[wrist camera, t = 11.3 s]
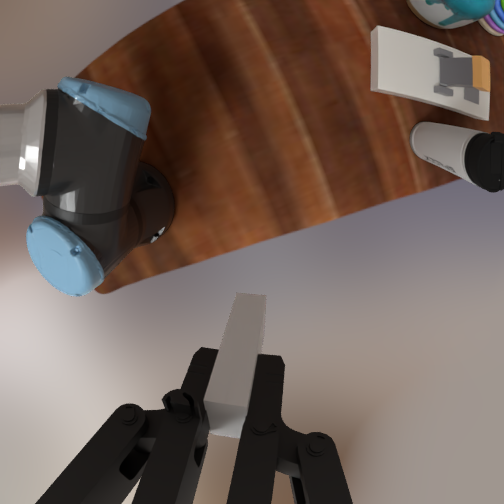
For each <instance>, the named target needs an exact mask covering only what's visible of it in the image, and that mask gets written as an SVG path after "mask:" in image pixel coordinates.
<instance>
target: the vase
mask: <svg viewBox="0 0 504 504" xmlns="http://www.w3.org/2000/svg"><path fill="white" fill-rule="evenodd" d="M406 2H407V4H408V6H409V8H410V9H411V11H412V12H413V13H414V14H415V15H416V16H417V17H418V18H419V19H420V20H422V21H423V22H424V23H426V24H428V25H430V26H432V27H435V28H439V29H452V28H457V27H461V26H464V25H467V24H470V23H472V22H475V21H477V20H479V19H482V18H483V17H485V16H486V15H488V14H489V13H490V12H491V11H492V10H493V8H494V5H495V0H406Z"/></svg>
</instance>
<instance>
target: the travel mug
mask: <svg viewBox="0 0 504 504" xmlns="http://www.w3.org/2000/svg"><path fill="white" fill-rule="evenodd" d="M410 146H411V148H412V150H413V152H414V153H415V154H416V155H417V156H418V157H419V158H421V159H423V160H426V161H428V162H430V163H432V164H434V165H437V166H439V167H441V168H443V169H445V170H447V171H449V172H451V173H453V174H455V175H457V176H459V177H461V178H463V179H465V180H467V181H469V182H471V183H473V184H474V185H476V186H479V187H481V188H482V189H485V190H487V191H489V192H498V191H499V190H503V189H504V134H502V133H500V132H492V133H491V134H488V133H486V132H481V131H477V130H472V129H467V128H462V127H457V126H451V125H445V124H439V123H433V122H425V121H424V122H420V123H418V124H416V125H415V126H414V127H413V129H412V130H411V133H410Z"/></svg>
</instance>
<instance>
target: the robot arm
mask: <svg viewBox="0 0 504 504" xmlns="http://www.w3.org/2000/svg"><path fill="white" fill-rule="evenodd" d="M150 115H151V107H150V104H149V103H148V101H147V100H146V99H144V98H143V97H141V96H138V95H136V94H133V93H130V92H127V91H124V90H121V89H118V88H115V87H111V86H108V85H104V84H100V83H97V82H92V81H88V80H84V79H78V78H72V77H63V78H62V79H61V81H60V83H58V89H55V90H54V89H42V90H41V91H40V92H39V93H37V94H36V95H35V96H34V97H33V98H32V99H31V100H30V101H28V102H27V103H24V104H4V105H0V186H5V185H13V184H18V185H21V186H22V187H23V188H24V189H25V190H26V191H27V192H28V193H29V194H30V195H31V196H32V197H33V196H44V197H43V214H42V216H38V217H36V218H35V219H34V220H33V222H32V224H31V225H30V226H29V227H28V230H27V235H26V240H27V247H28V251H29V254H30V256H31V259H32V261H33V263H34V264H35V266H36V268H37V269H38V270H39V272H40V273H41V274H42V276H43V277H44V278H45V279H46V280H47V281H48V282H49V283H50V284H51V285H52V286H53V287H55V288H56V289H58V290H59V291H61V292H63V293H65V294H67V295H71V296H82V295H86V294H88V293H90V292H91V291H92V290H93V289H95V288H96V287H97V286H98V285H100V284H101V283H102V282H103V281H104V279H105V277H106V276H107V275H108V274H109V273H110V272H111V271H112V270H113V269H114V268H115V267H116V266H117V265H118V264H119V263H120V262H121V261H122V260H123V259H124V258H125V257H126V256H127V255H128V254H129V253H130V252H131V251H132V250H133V249H134V248H137V247H140V246H144V245H147V244H150V243H152V242H154V241H156V240H157V239H158V238H159V237H161V236H162V235H163V233H164V232H165V231H166V230H167V229H168V228H169V226H170V224H171V222H172V219H173V216H174V197H173V193H172V190H171V188H170V186H169V184H168V182H167V180H166V179H165V178H164V176H163V175H162V174H161V173H160V172H159V171H158V170H157V169H155V168H154V167H152V166H151V165H149V164H146V163H143V162H139V160H140V156H141V152H142V148H143V144H144V140H146V139H147V136H146V132H147V127H148V123H149V119H150ZM265 311H266V295H255V294H245V293H237V294H236V297H235V300H234V303H233V306H232V310H231V313H230V316H229V319H228V323H227V326H226V329H225V332H224V335H223V339H222V342H221V345H220V349H219V350H217V349H211V348H204V347H201V348H200V349H199V350H198V351H197V352H196V353H195V354H194V355H193V358H192V360H191V363H190V366H189V368H188V372H187V374H186V376H185V379H184V381H183V384H182V386H181V389H176V390H172V391H170V392H168V393H167V394H165V396H164V397H163V399H162V401H163V404H164V407H165V409H161V410H143V409H142V408H141V407H139V406H138V405H136V404H124V405H121V406H120V407H119V408H117V409H116V410H115V411H114V413H113V414H112V415H111V416H110V417H109V418H108V420H107V421H106V422H105V423H104V424H103V425H102V427H101V428H100V429H99V430H98V431H97V432H96V434H95V435H94V436H93V437H92V438H91V439H90V441H89V442H88V443H87V444H86V445H85V446H84V447H83V449H82V450H81V451H80V452H79V453H78V455H77V456H76V457H75V458H74V459H73V460H72V461H71V463H70V464H69V465H68V466H67V467H66V468H65V470H64V471H63V472H62V473H61V474H60V476H59V477H58V478H57V479H56V480H55V481H54V483H53V484H52V485H51V486H50V487H49V488H48V489H47V491H46V492H45V493H44V494H43V495H42V496H41V498H40V499H39V500H38V501H37V502H36V503H35V504H121V503H122V502H123V501H124V499H125V498H126V497H127V496H128V494H129V493H130V492H131V490H132V489H133V487H134V486H135V485H136V483H137V482H138V481H139V479H140V478H141V479H140V482H139V485H138V488H137V490H136V493H135V496H134V499H133V501H132V504H193V500H194V496H195V492H196V488H197V484H198V481H199V477H200V474H201V469H202V466H203V462H204V458H205V455H206V451H207V447H208V440H207V437H208V434H209V430H210V432H211V434H214V435H220V436H227V437H234V438H240V442H239V446H238V451H237V456H236V461H235V466H234V471H233V475H232V480H231V485H230V490H229V494H228V499H227V504H271V501H272V494H273V486H274V478H275V470H276V471H278V472H281V473H284V474H287V475H289V478H290V483H291V488H292V493H293V498H294V503H295V504H353V502H352V499H351V496H350V492H349V489H348V485H347V483H346V479H345V475H344V472H343V469H342V466H341V463H340V459H339V456H338V453H337V449H336V446H335V443H334V441H333V440H332V438H331V437H329V436H328V435H327V434H323V433H321V432H312V433H309V434H302V433H300V432H297V431H294V430H292V429H290V428H289V427H288V426H286V425H285V423H284V422H283V420H282V418H281V406H282V395H283V383H284V371H285V364H284V362H283V360H282V357H281V356H277V355H266V354H261V352H262V345H263V339H264V328H265ZM141 476H142V477H141Z"/></svg>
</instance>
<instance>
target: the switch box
mask: <svg viewBox="0 0 504 504" xmlns="http://www.w3.org/2000/svg"><path fill="white" fill-rule="evenodd" d="M439 57H444V58H458V57H472V56H471V55H469V54H466V53H464V52H462V51H459V50H457V49H454V48H451V47H449V46H446V45H443V44H441V43H438V42H435V41H432V40H429V39H426V38H423V37H420V36H416V35H413V34H410V33H406V32H402V31H399V30H395V29H391V28H386V27H382V26H377V27H376V28H375V29H374V30H373V31H371V91H374V92H380V93H385V94H390V95H395V96H399V97H404V98H408V99H412V100H416V101H420V102H424V103H428V104H431V105H435V106H438V107H442V108H445V109H448V110H452V111H455V112H458V113H461V114H464V115H467V116H469V117H472V118H475V119H480V120H487V121H489V102H490V92H485V91H480V90H478V89H474V88H464V87H452V86H448V87H443V86H440V85H439Z"/></svg>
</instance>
